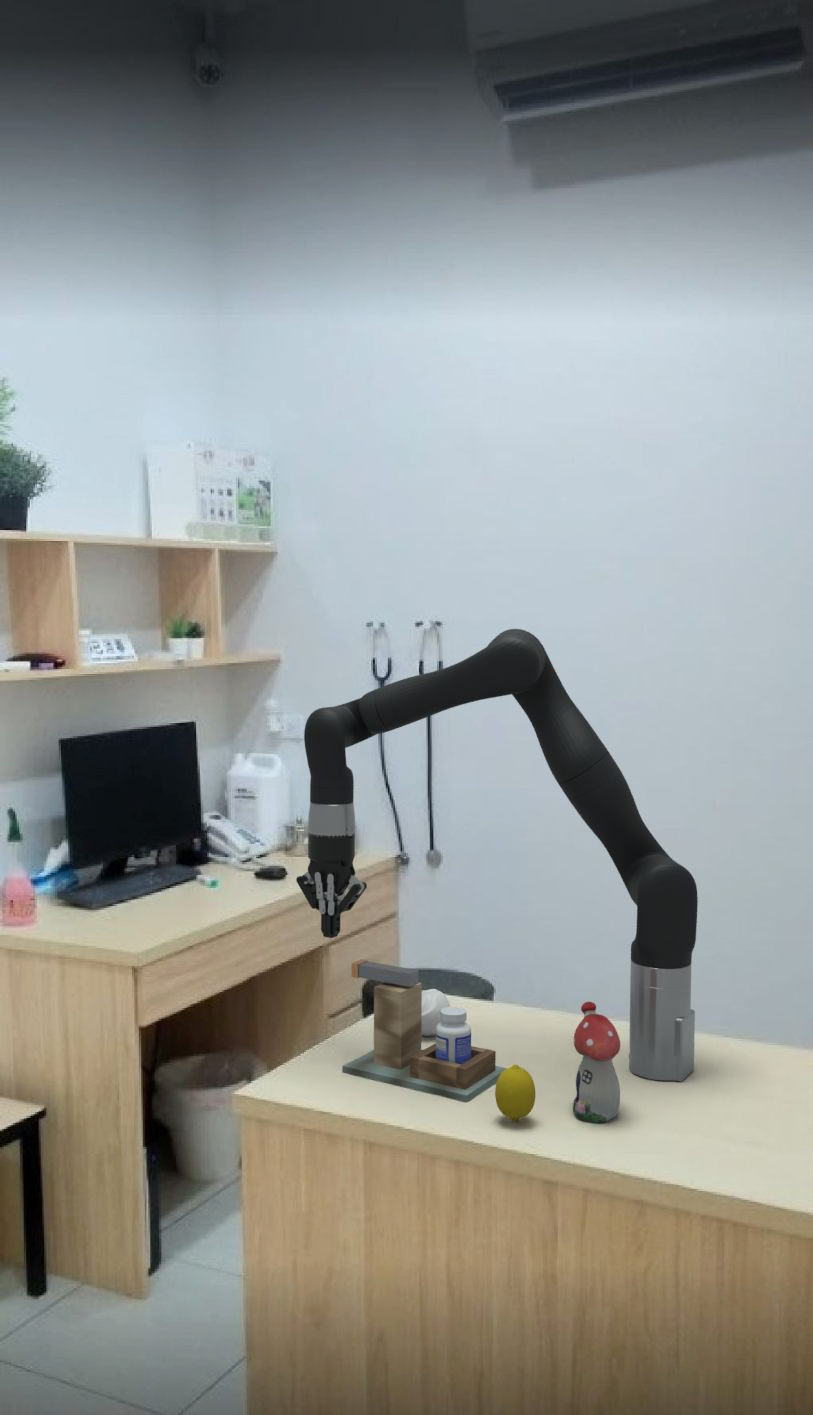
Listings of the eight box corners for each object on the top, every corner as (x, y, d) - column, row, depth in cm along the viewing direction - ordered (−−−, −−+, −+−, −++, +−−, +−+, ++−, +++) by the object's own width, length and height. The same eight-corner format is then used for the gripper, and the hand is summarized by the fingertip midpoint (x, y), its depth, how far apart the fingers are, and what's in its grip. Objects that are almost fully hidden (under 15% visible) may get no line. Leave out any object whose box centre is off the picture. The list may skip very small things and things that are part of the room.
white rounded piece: (401, 1028, 197) (401, 984, 197) (443, 1025, 199) (443, 982, 199) (412, 1044, 190) (412, 998, 189) (456, 1040, 191) (456, 995, 191)
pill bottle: (472, 1067, 176) (472, 1005, 175) (470, 1080, 170) (470, 1016, 170) (436, 1066, 176) (437, 1004, 176) (434, 1079, 171) (434, 1015, 171)
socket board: (507, 1074, 176) (508, 991, 175) (466, 1102, 165) (467, 1013, 164) (388, 1048, 187) (388, 969, 187) (342, 1072, 176) (342, 988, 176)
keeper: (419, 983, 178) (419, 969, 178) (409, 987, 175) (409, 973, 175) (361, 972, 184) (361, 959, 183) (351, 976, 181) (351, 963, 181)
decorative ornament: (572, 1098, 166) (573, 997, 166) (617, 1101, 165) (619, 999, 165) (573, 1124, 157) (574, 1016, 156) (621, 1127, 156) (622, 1019, 156)
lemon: (540, 1118, 159) (540, 1061, 159) (527, 1132, 154) (528, 1074, 154) (503, 1111, 162) (503, 1055, 161) (489, 1125, 157) (489, 1068, 156)
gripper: (284, 829, 184) (284, 935, 185) (351, 836, 177) (351, 947, 178) (312, 824, 191) (311, 926, 192) (378, 831, 184) (377, 937, 185)
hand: (330, 936), depth 185 cm, fingers closed
